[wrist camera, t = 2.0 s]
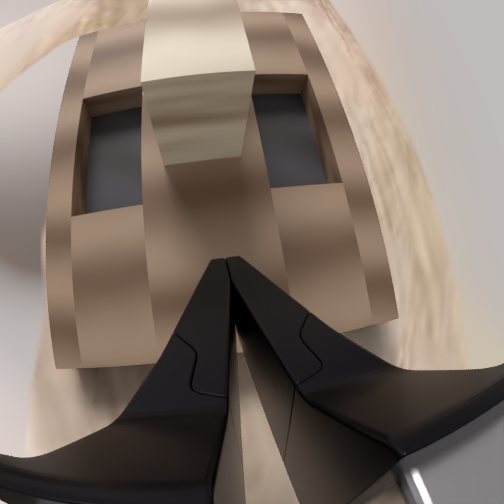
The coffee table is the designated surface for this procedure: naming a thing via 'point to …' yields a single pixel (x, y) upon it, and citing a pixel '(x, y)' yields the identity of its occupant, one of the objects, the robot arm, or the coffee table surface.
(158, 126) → the birch block
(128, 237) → the board
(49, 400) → the coffee table surface
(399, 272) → the coffee table surface
